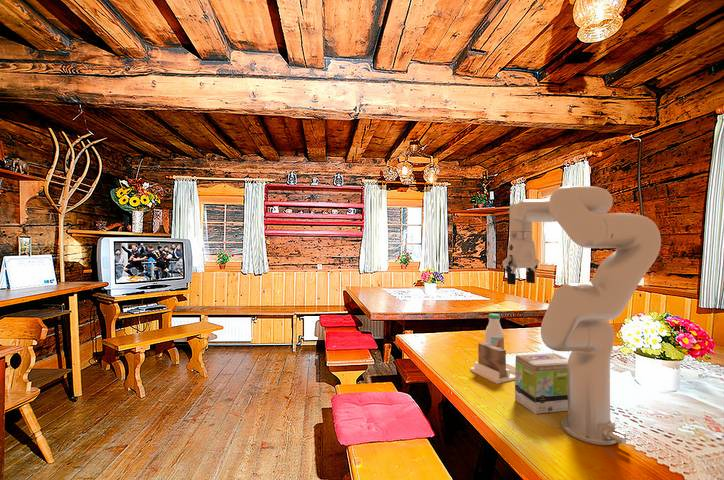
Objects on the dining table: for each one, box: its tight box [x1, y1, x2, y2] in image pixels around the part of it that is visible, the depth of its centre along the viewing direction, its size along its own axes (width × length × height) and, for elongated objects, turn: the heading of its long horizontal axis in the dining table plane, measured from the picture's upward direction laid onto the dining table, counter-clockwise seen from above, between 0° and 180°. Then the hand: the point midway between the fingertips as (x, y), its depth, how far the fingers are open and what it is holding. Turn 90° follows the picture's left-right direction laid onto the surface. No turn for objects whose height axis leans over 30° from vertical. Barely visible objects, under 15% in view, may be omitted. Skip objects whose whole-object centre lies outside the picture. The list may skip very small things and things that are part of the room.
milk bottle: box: [484, 313, 505, 350], centre depth 144 cm, size 8×8×20 cm
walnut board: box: [477, 341, 507, 378], centre depth 128 cm, size 11×3×10 cm, turn 23°
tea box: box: [514, 352, 569, 415], centre depth 104 cm, size 15×10×15 cm
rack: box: [469, 361, 516, 385], centre depth 129 cm, size 14×14×4 cm
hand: (521, 283), depth 121 cm, fingers open, 9 cm apart
